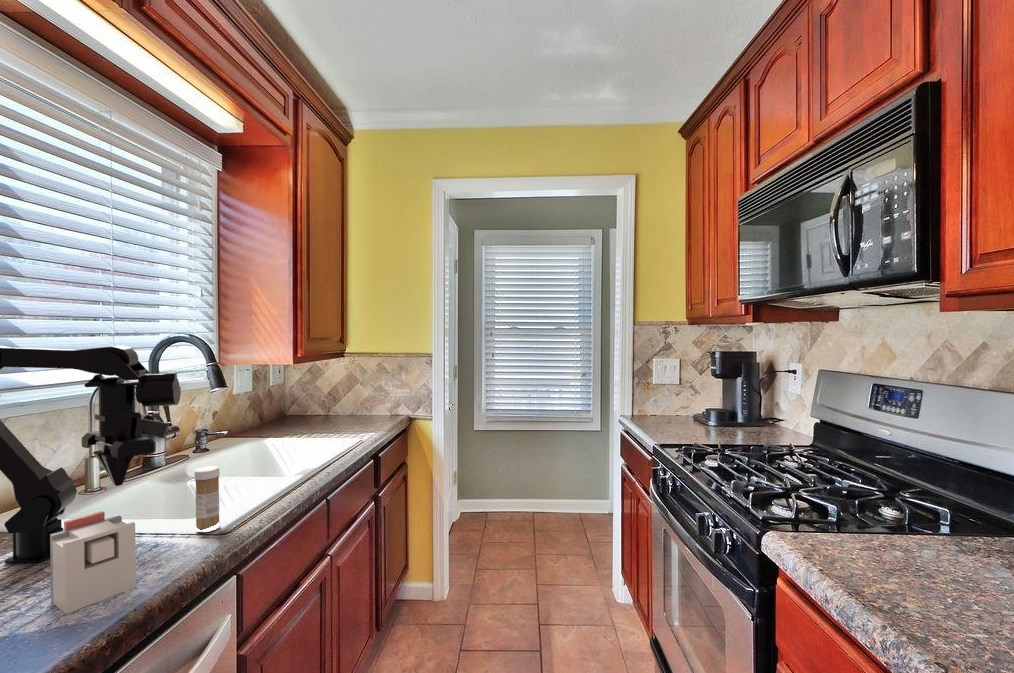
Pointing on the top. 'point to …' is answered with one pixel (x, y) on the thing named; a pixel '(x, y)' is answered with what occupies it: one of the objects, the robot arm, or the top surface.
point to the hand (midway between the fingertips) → (118, 485)
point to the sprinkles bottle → (207, 496)
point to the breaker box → (91, 564)
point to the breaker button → (95, 547)
